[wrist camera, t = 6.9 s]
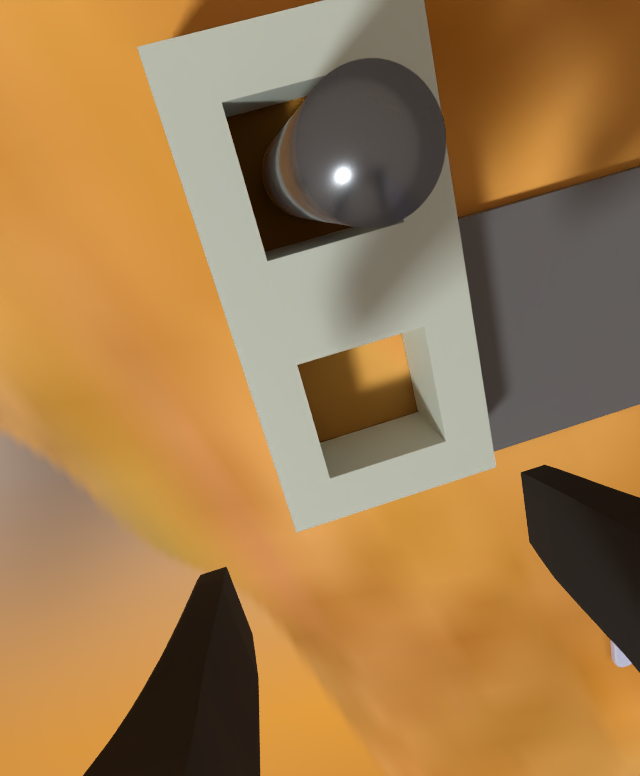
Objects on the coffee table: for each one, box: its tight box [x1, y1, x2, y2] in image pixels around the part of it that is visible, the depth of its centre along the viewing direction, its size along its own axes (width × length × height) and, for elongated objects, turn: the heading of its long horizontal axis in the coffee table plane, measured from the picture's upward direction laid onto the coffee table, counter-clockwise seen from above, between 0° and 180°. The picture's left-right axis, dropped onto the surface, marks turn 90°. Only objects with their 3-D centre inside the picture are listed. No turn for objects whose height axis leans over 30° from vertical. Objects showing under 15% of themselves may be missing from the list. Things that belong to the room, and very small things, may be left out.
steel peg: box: [262, 58, 446, 228], centre depth 14 cm, size 3×3×9 cm
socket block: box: [137, 0, 496, 532], centre depth 19 cm, size 16×8×3 cm, turn 14°
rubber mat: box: [458, 166, 640, 451], centre depth 22 cm, size 10×10×1 cm
